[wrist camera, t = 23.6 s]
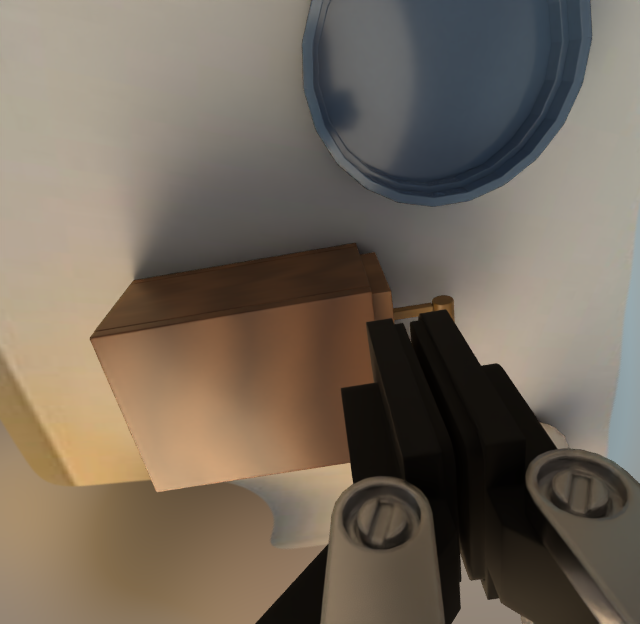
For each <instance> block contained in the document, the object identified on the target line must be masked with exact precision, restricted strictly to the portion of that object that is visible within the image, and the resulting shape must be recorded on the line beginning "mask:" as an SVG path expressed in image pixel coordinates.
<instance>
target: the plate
mask: <svg viewBox="0 0 640 624" xmlns="http://www.w3.org/2000/svg"><path fill="white" fill-rule="evenodd" d="M591 41H592V23H591V3H590V0H311V5H310V9H309V14H308V18H307V23H306V27H305V32H304V36H303V40H302V72H303V89H304V93H305V96H306V99H307V103H308V106H309V109H310V113H311V116H312V120H313V123H314V126H315V129H316V132H317V133H318V135H319V136H320V138H321V139H322V141H323V143H324V144H325V146H326V147H327V149H328V150H329V152H330V154H331V155H332V157H333V158H334V160H335V161H336V163H337V164H338V165H339V166H340V167H341V168H342V169H343V170H345V171H346V172H347V173H348V174H349V175H350V176H352V177H353V178H354V179H355V180H356V181H357V182H359V183H360V184H361V185H362V186H363V187H364V188H366V189H368V190H370V191H372V192H375V193H377V194H379V195H381V196H384V197H386V198H388V199H391V200H393V201H395V202H399V203H404V204H413V205H422V206H430V207H436V206H442V205H448V204H454V203H460V202H466V201H470V200H473V199H475V198H477V197H479V196H481V195H483V194H486V193H488V192H490V191H492V190H494V189H496V188H499V187H501V186H503V185H505V184H506V183H508V182H509V181H510V180H511V179H513V178H514V177H515V176H516V175H517V174H519V173H520V172H521V171H522V170H524V169H525V168H526V167H527V166H529V165H530V164H531V163H532V162H534V161H535V160H536V159H537V158H538V157H539V156H540V155H541V153H542V152H543V151H544V149H545V148H546V147H547V145H548V144H549V143H550V142H551V140H552V139H553V138H554V136H555V135H556V134H557V133H558V131H559V130H560V129H561V127H562V126H563V124H564V123H565V121H566V119H567V117H568V114H569V112H570V110H571V108H572V106H573V104H574V101H575V99H576V97H577V95H578V93H579V91H580V88H581V86H582V84H583V80H584V75H585V70H586V65H587V60H588V56H589V51H590V46H591Z"/></svg>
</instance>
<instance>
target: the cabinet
mask: <svg viewBox="0 0 640 624" xmlns="http://www.w3.org/2000/svg"><path fill="white" fill-rule="evenodd" d="M370 321H375V313H374V305H373V297H372V291H371V288H370V284H369V281H368V278H367V275H366V272H365V269H364V266H363V263H362V260H361V257H360V254H359V251H358V248H357V245H356V243H352V244H346V245H340V246H334V247H328V248H322V249H317V250H311V251H305V252H299V253H293V254H287V255H281V256H275V257H269V258H263V259H257V260H251V261H245V262H239V263H234V264H228V265H222V266H216V267H210V268H204V269H198V270H192V271H186V272H180V273H174V274H168V275H162V276H156V277H150V278H145V279H139V280H134V281H133V282H132V283H131V285H130V286H129V287H128V288H127V289H126V291H125V292H124V293H123V295H122V296H121V297H120V299H119V300H118V301H117V302H116V304H115V305H114V306H113V308H112V309H111V310H110V312H109V313H108V314H107V315H106V317H105V318H104V319H103V321H102V322H101V323H100V325H99V326H98V327H97V328H96V330H95V331H94V333H93V334H92V335H91V337H90V341H91V343H92V345H93V347H94V350H95V352H96V354H97V357H98V359H99V361H100V363H101V366H102V368H103V370H104V373H105V375H106V377H107V380H108V382H109V384H110V386H111V389H112V391H113V393H114V396H115V398H116V400H117V402H118V405H119V407H120V409H121V412H122V414H123V416H124V418H125V421H126V423H127V425H128V428H129V430H130V432H131V435H132V437H133V439H134V441H135V444H136V446H137V448H138V451H139V453H140V455H141V457H142V460H143V462H144V464H145V467H146V469H147V471H148V473H149V476H150V478H151V480H152V483H153V485H154V487H155V490H156V492H161V491H167V490H173V489H180V488H187V487H193V486H200V485H207V484H213V483H220V482H226V481H233V480H239V479H246V478H253V477H259V476H266V475H272V474H279V473H285V472H292V471H299V470H305V469H312V468H318V467H325V466H331V465H338V464H345V463H350V456H349V448H348V441H347V433H346V426H345V418H344V411H343V403H342V396H341V388H344V387H350V386H356V385H363V384H369V383H374V380H373V373H372V366H371V358H370V351H369V344H368V336H367V329H366V322H370Z"/></svg>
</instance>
